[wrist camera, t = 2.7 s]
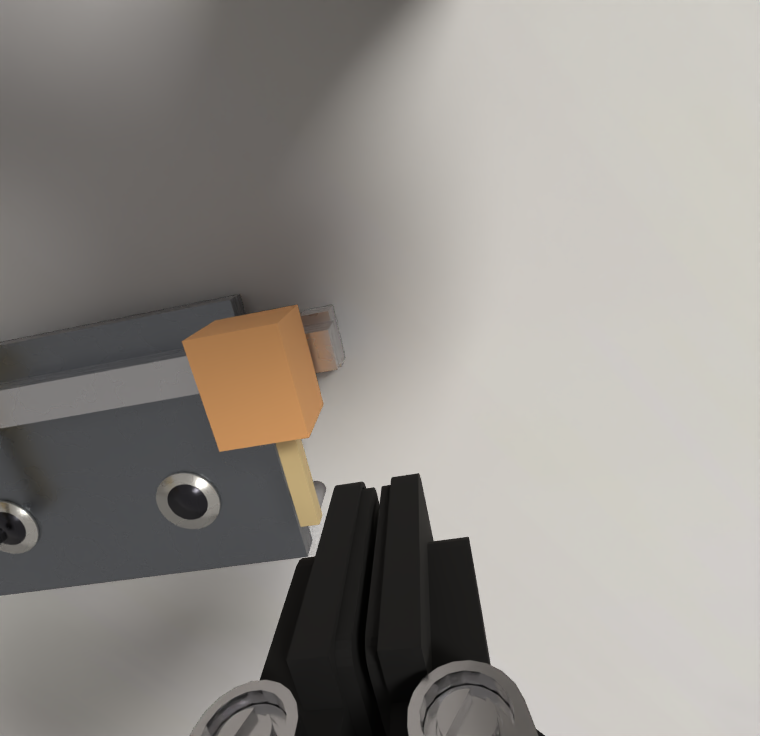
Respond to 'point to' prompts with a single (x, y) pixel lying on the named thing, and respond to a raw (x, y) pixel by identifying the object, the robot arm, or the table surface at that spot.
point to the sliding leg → (262, 392)
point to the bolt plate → (134, 456)
